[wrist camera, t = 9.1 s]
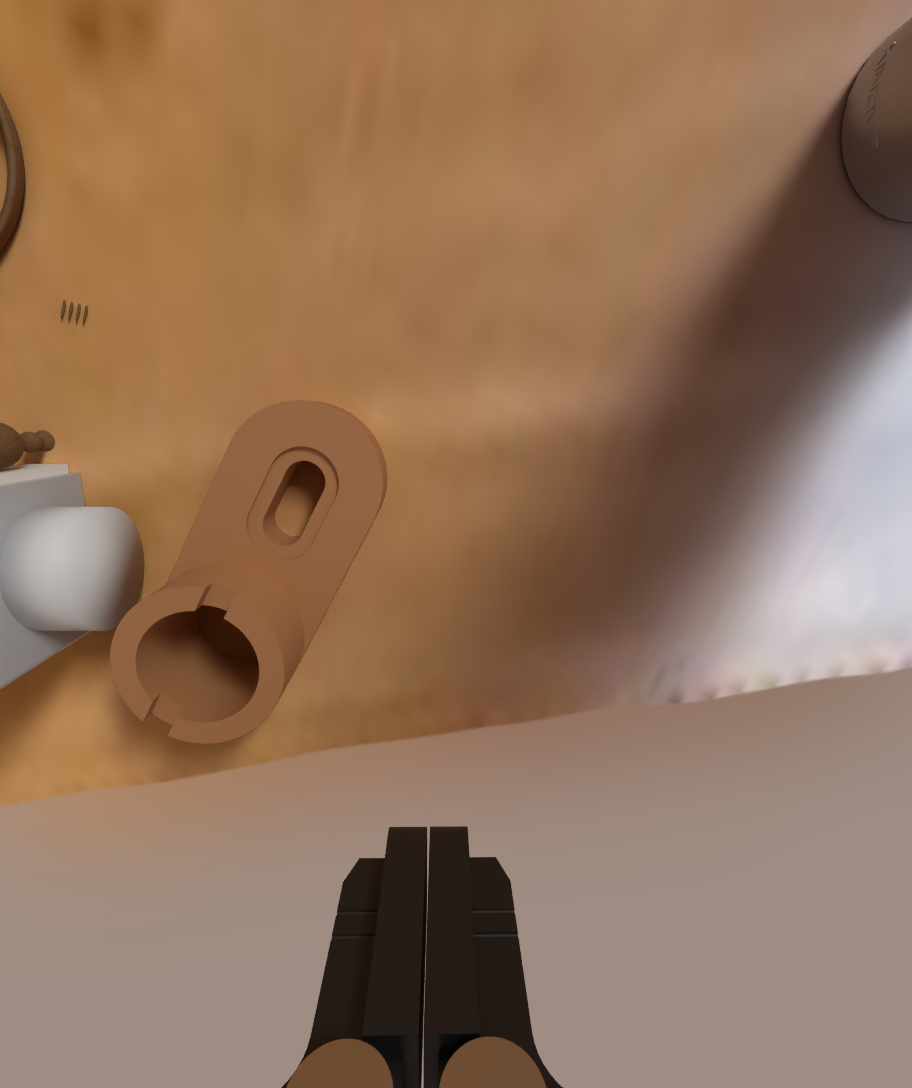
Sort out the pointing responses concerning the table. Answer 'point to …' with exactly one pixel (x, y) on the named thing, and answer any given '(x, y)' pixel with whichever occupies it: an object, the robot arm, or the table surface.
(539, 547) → the table surface
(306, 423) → the bracket
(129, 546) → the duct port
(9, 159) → the place setting
